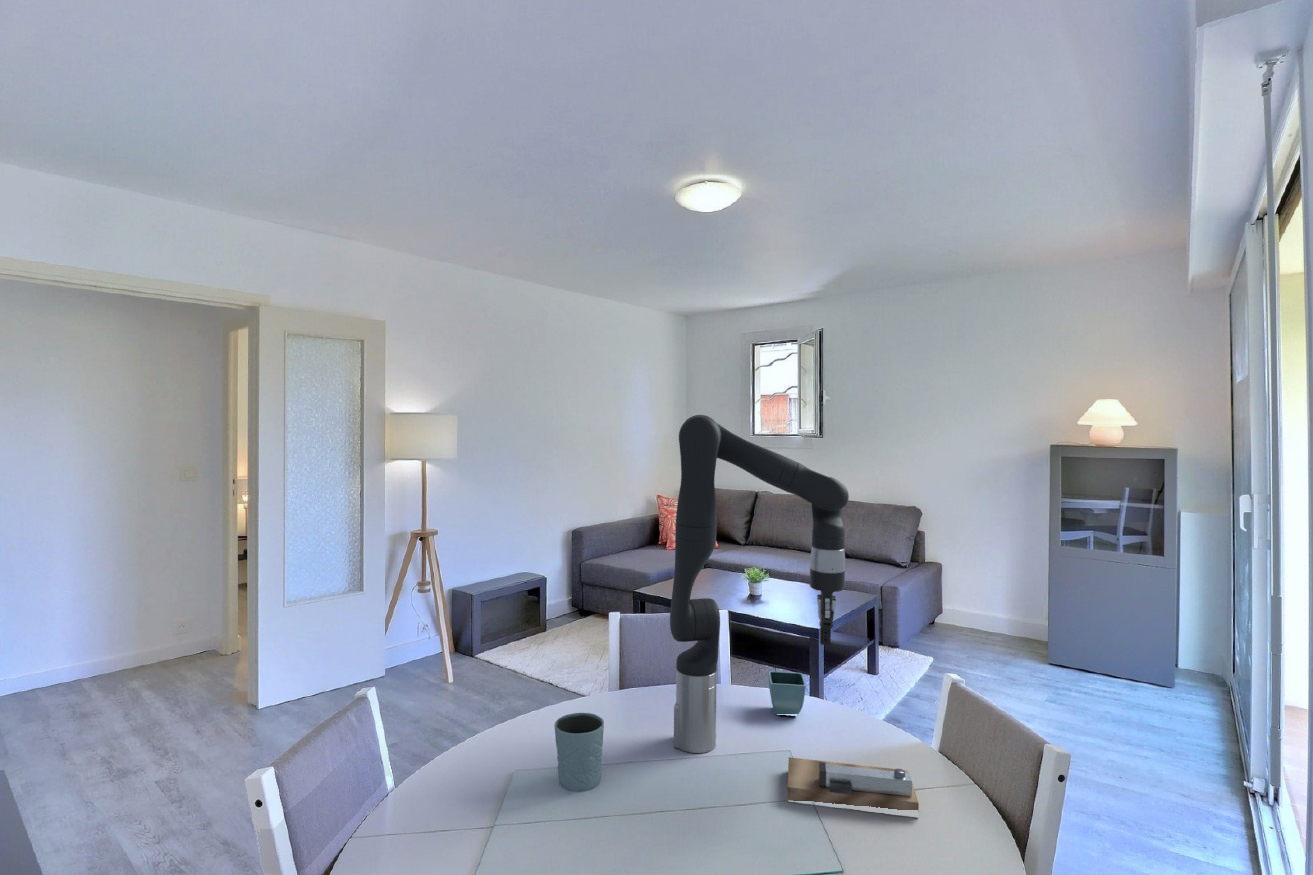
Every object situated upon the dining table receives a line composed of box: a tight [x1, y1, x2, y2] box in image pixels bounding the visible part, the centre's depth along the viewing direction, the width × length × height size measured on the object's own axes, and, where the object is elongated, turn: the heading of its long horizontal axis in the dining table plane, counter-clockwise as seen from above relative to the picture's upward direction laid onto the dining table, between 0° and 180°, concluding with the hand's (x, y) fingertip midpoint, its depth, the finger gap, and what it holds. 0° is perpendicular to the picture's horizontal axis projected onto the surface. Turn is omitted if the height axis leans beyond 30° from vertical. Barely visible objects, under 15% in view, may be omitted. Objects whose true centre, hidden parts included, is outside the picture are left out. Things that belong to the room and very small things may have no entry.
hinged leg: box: [819, 762, 913, 797], centre depth 130 cm, size 17×3×4 cm, turn 79°
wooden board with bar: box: [787, 757, 920, 811], centre depth 134 cm, size 24×12×4 cm, turn 78°
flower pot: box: [768, 670, 807, 715], centre depth 171 cm, size 9×9×9 cm
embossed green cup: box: [553, 712, 605, 793], centre depth 138 cm, size 10×10×12 cm
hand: (825, 643), depth 151 cm, fingers closed
